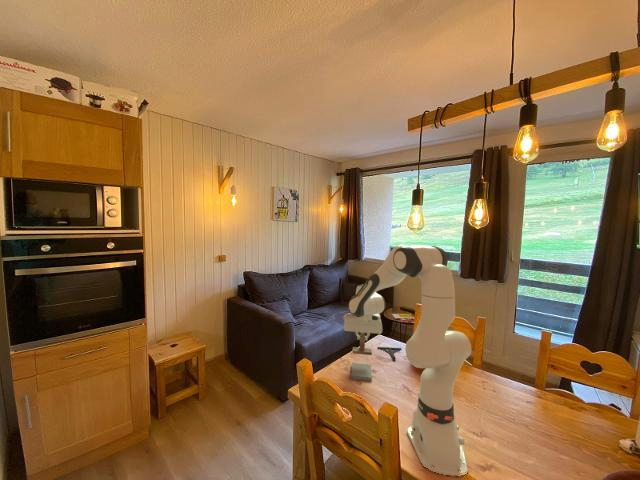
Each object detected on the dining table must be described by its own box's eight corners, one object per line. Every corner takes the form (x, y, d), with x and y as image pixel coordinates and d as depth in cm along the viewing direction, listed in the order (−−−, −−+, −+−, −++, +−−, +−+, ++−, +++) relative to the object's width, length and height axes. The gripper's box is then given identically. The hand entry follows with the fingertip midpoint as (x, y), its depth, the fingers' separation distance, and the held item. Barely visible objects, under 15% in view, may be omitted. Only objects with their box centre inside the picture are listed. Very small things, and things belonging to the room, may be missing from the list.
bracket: (381, 361, 150) (381, 356, 150) (377, 348, 165) (377, 344, 165) (407, 363, 150) (407, 358, 149) (400, 350, 164) (401, 345, 164)
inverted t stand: (371, 355, 138) (372, 335, 137) (352, 353, 140) (353, 334, 139) (371, 351, 142) (371, 332, 141) (352, 349, 144) (353, 331, 143)
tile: (370, 368, 142) (371, 382, 130) (351, 366, 144) (351, 379, 132) (370, 364, 142) (371, 377, 130) (352, 362, 143) (351, 375, 132)
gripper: (343, 314, 138) (342, 340, 139) (383, 317, 135) (382, 344, 136) (343, 311, 144) (343, 335, 145) (382, 313, 141) (381, 338, 142)
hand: (362, 339), depth 140 cm, fingers closed on inverted t stand, 2 cm apart
